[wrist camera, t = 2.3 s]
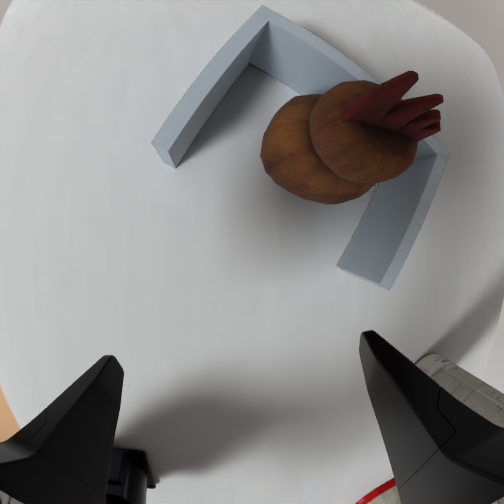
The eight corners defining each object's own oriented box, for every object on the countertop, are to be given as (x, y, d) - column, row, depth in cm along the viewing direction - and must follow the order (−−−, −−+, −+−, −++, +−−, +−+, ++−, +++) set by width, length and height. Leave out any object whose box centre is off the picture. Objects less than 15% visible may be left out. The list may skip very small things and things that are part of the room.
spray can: (398, 411, 27) (506, 511, 7) (398, 369, 26) (536, 475, 6) (439, 383, 28) (547, 461, 8) (442, 341, 27) (575, 416, 7)
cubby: (345, 271, 23) (389, 290, 17) (163, 161, 19) (151, 142, 13) (400, 161, 22) (449, 153, 16) (245, 48, 18) (262, 4, 13)
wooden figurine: (237, 173, 20) (339, 94, 5) (272, 107, 20) (390, -20, 5) (318, 216, 21) (494, 236, 7) (346, 152, 21) (512, 107, 7)
